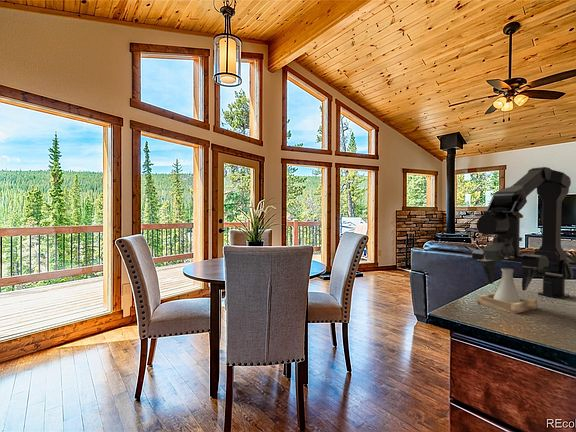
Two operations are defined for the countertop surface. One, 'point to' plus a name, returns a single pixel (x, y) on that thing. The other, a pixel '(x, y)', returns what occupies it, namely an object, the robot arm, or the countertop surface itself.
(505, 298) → the flask
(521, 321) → the countertop surface
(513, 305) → the tray
